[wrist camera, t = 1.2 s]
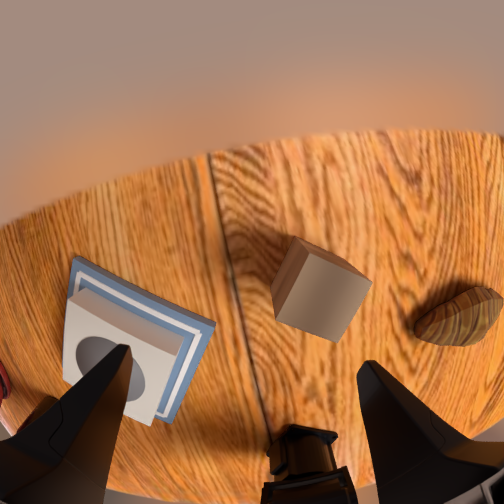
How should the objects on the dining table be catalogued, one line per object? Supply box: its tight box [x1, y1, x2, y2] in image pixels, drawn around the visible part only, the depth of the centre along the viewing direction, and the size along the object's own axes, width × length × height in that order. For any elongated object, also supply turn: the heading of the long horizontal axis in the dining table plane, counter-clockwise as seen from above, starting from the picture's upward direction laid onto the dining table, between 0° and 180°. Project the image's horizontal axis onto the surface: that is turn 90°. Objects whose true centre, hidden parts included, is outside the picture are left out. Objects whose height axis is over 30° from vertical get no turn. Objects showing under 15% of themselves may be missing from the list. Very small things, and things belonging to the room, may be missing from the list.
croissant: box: [414, 287, 503, 347], centre depth 20 cm, size 14×7×5 cm, turn 98°
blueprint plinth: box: [62, 256, 216, 426], centre depth 22 cm, size 14×14×4 cm
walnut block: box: [270, 236, 373, 343], centre depth 19 cm, size 4×4×6 cm
